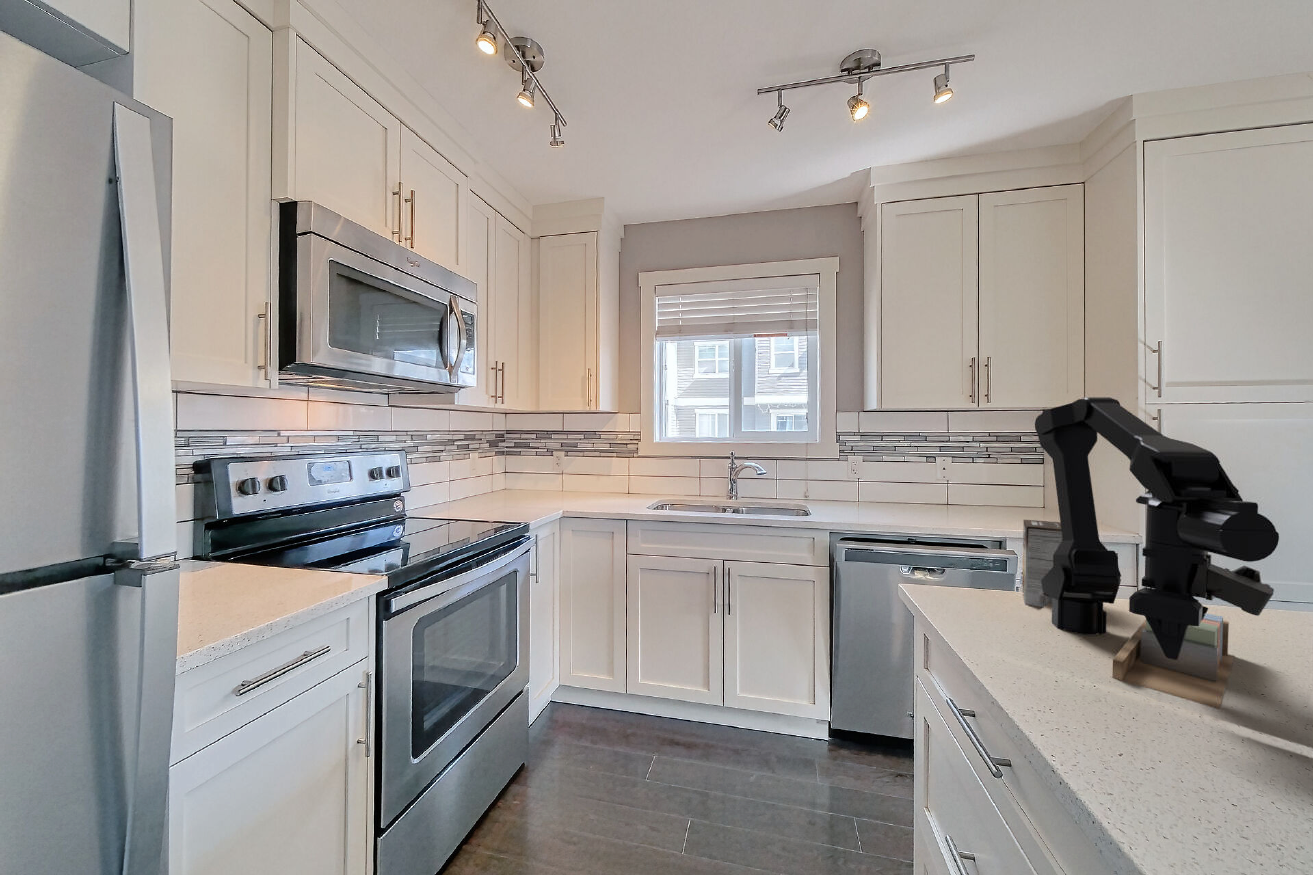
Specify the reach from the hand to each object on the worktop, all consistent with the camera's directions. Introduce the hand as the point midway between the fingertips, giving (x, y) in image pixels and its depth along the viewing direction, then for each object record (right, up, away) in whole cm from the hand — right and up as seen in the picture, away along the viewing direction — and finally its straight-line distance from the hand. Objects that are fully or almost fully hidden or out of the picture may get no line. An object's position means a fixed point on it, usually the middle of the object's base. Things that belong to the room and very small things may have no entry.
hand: (1171, 658), depth 69 cm
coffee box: (+10, -4, +37) cm, 38 cm away
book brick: (+10, -4, +8) cm, 14 cm away
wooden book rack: (+6, -5, +6) cm, 10 cm away
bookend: (+5, -4, +4) cm, 8 cm away
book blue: (+13, -4, +11) cm, 18 cm away
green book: (+7, -4, +6) cm, 10 cm away
